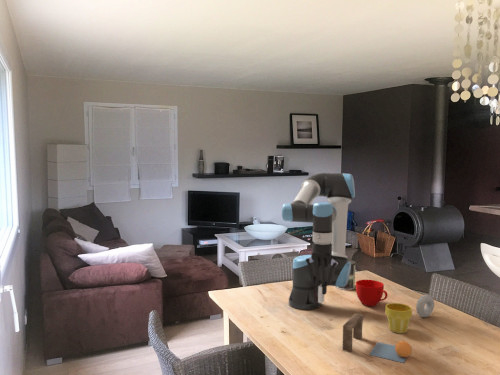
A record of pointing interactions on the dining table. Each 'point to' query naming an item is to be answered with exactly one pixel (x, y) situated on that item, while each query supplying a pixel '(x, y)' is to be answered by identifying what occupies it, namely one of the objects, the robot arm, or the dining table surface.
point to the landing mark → (386, 352)
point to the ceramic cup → (370, 292)
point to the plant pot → (398, 316)
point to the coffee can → (350, 278)
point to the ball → (403, 349)
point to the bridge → (352, 331)
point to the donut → (421, 304)
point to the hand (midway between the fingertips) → (321, 301)
